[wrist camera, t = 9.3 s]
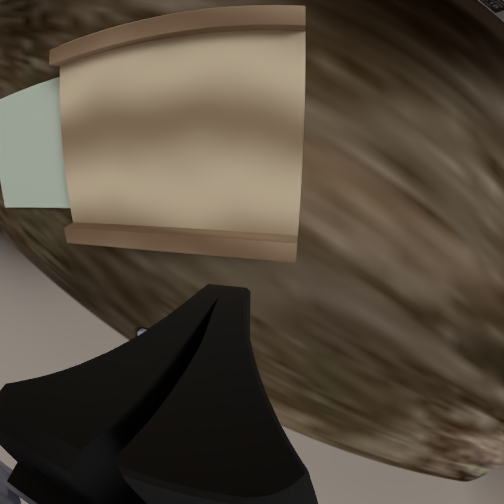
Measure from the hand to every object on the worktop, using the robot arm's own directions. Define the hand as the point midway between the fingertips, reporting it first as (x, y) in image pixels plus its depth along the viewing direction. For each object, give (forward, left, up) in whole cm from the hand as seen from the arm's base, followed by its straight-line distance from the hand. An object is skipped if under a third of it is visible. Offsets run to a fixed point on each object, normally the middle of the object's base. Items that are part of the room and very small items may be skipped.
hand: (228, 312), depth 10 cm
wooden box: (+5, +5, -9) cm, 12 cm away
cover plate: (+5, +17, -10) cm, 21 cm away
